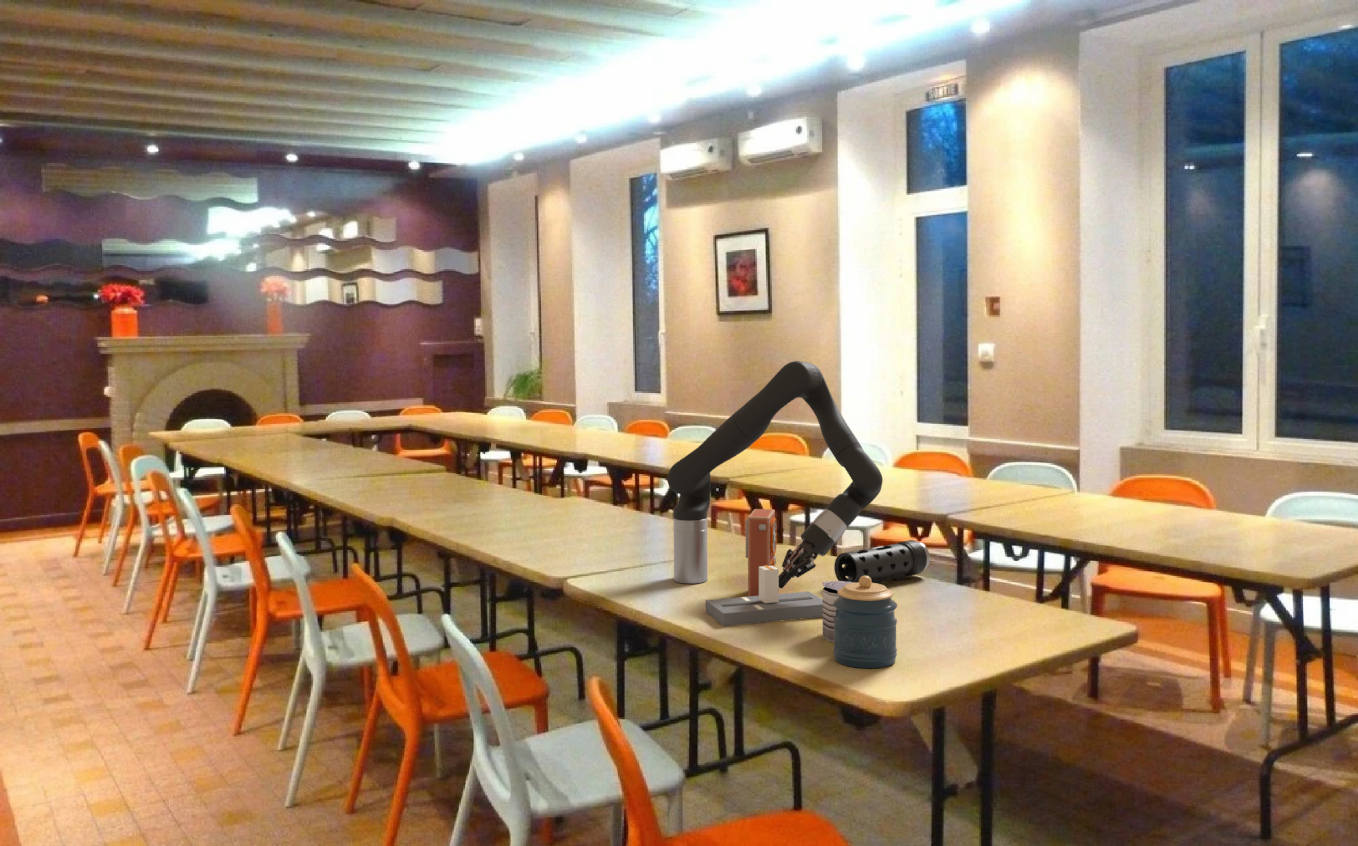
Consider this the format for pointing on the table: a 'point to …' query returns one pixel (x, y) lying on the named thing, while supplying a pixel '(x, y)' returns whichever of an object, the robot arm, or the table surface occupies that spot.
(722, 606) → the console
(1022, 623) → the table surface
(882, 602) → the canister
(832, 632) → the can
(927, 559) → the muzzle brake
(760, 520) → the control panel
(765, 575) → the fader tab
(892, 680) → the table surface
